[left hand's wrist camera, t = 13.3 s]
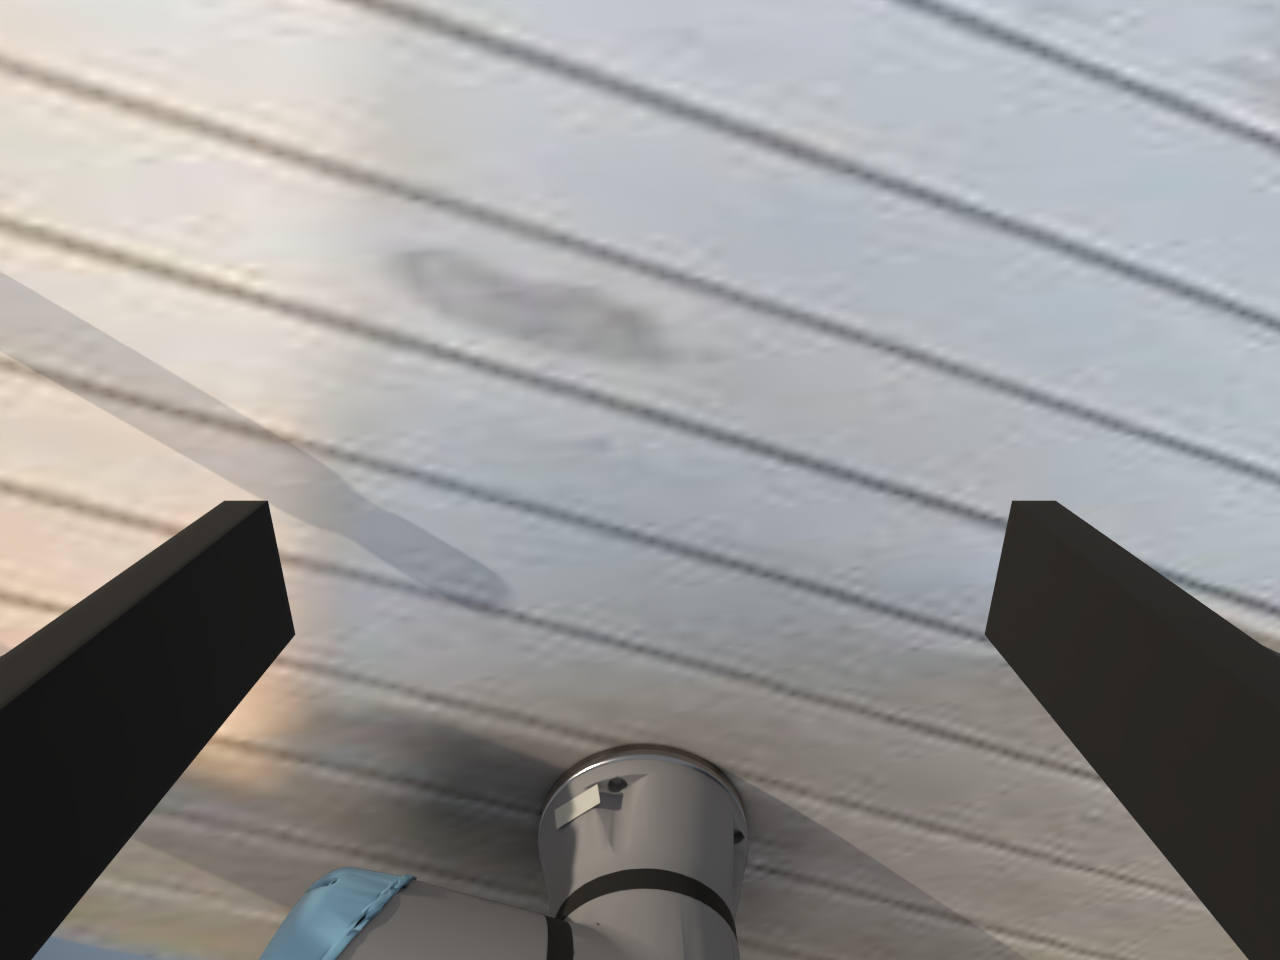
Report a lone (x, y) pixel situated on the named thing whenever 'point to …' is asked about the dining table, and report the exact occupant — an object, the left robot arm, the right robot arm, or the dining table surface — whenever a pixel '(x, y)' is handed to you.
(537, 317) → the dining table surface
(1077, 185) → the dining table surface
